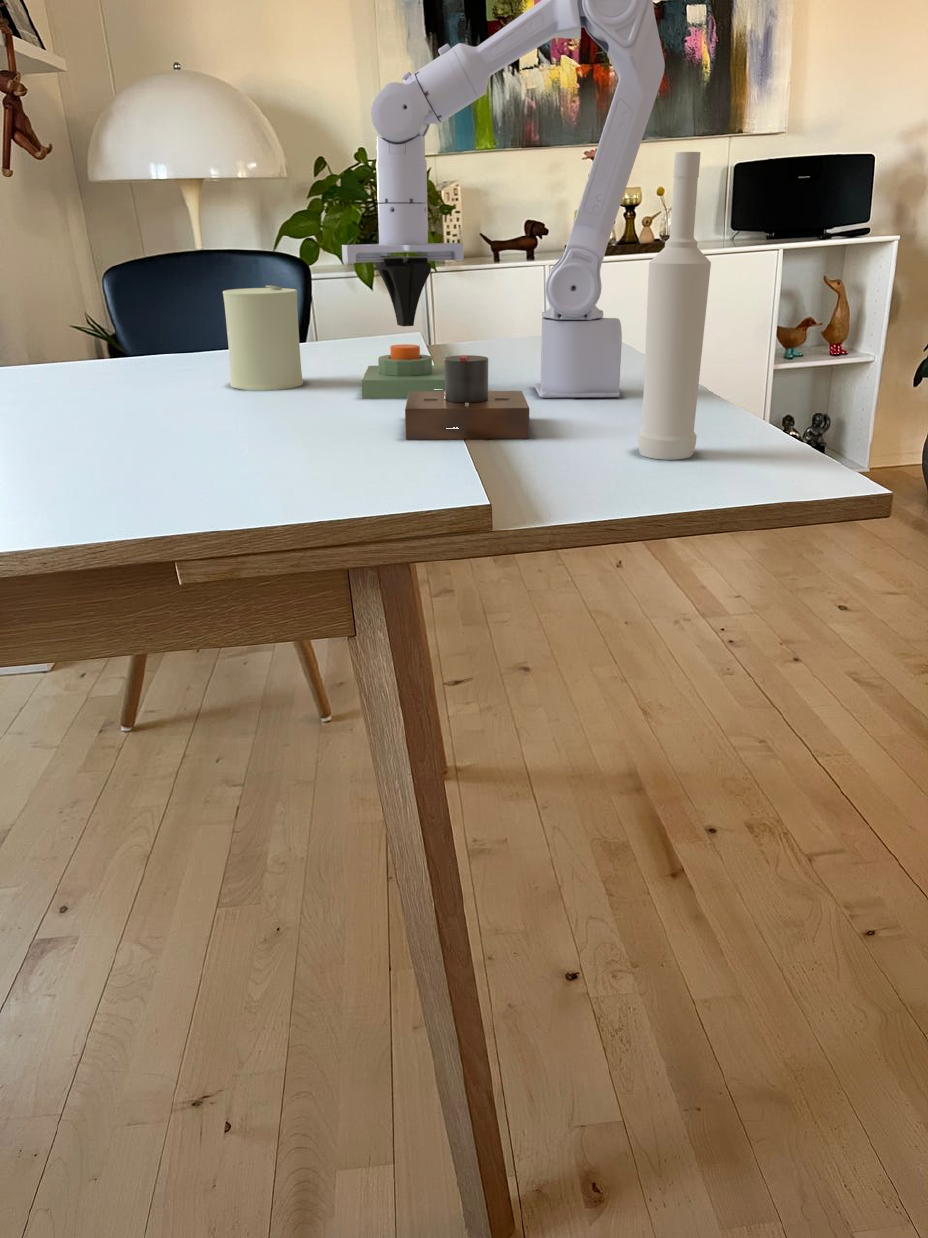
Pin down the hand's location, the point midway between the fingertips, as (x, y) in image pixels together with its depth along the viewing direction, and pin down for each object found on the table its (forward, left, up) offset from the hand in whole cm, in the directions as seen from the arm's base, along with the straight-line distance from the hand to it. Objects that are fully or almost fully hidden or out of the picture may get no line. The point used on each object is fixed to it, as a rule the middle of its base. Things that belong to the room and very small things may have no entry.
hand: (405, 325), depth 122 cm
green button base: (0, -1, -8) cm, 8 cm away
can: (+18, -6, -8) cm, 21 cm away
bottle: (-25, +36, -8) cm, 44 cm away
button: (0, -1, -4) cm, 4 cm away
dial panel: (-7, +23, -8) cm, 26 cm away
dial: (-7, +23, -5) cm, 25 cm away
